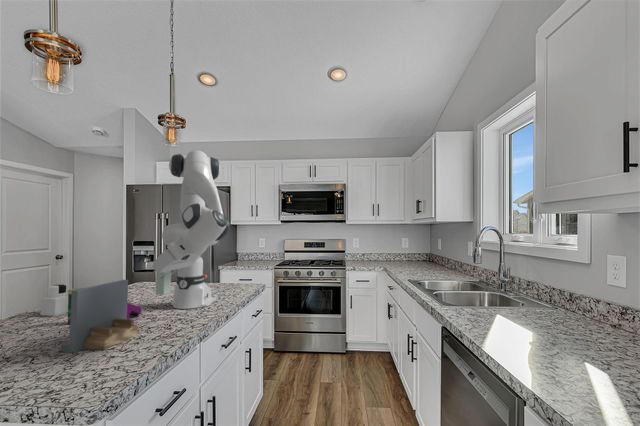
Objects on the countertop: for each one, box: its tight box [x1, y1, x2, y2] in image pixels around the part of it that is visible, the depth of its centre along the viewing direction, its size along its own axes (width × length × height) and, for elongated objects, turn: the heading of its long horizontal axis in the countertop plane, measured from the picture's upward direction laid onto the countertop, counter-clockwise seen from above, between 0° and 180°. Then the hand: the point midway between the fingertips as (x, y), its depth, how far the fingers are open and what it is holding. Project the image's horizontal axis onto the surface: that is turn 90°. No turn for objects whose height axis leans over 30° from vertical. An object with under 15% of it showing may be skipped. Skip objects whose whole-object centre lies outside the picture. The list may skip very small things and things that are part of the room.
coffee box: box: [67, 288, 82, 326], centre depth 118 cm, size 8×3×13 cm, turn 126°
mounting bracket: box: [127, 302, 142, 319], centre depth 121 cm, size 10×8×18 cm
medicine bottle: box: [40, 284, 68, 317], centre depth 130 cm, size 7×7×12 cm
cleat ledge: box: [84, 318, 139, 351], centre depth 100 cm, size 14×7×6 cm, turn 172°
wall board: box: [59, 279, 129, 353], centre depth 101 cm, size 20×5×18 cm, turn 172°
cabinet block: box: [155, 271, 172, 296], centre depth 109 cm, size 4×3×10 cm
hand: (163, 275), depth 109 cm, fingers closed on cabinet block, 4 cm apart
